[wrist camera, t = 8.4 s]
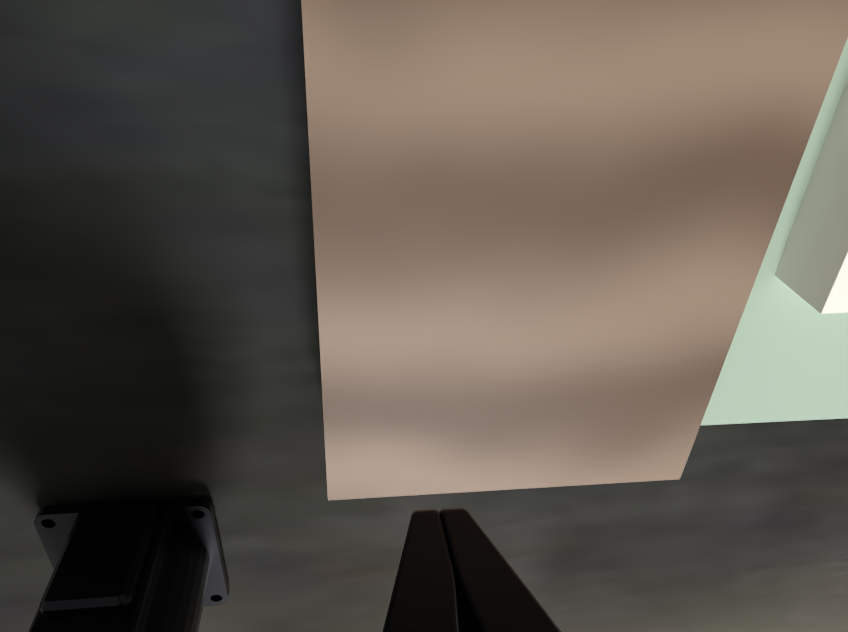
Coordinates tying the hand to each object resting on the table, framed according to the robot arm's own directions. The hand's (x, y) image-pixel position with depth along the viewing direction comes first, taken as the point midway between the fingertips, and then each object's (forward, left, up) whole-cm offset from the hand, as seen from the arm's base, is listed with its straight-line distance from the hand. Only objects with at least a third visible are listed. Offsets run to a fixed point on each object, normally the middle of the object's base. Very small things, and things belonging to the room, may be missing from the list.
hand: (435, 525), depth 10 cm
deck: (+2, -4, -11) cm, 12 cm away
